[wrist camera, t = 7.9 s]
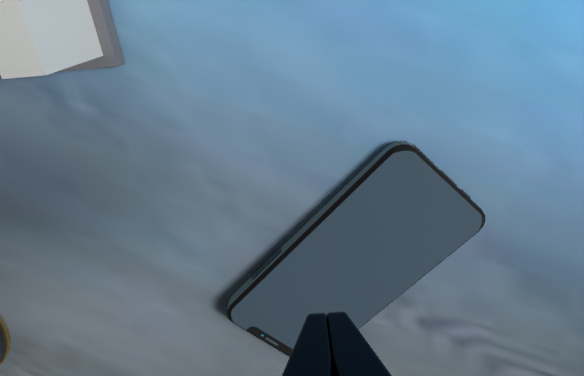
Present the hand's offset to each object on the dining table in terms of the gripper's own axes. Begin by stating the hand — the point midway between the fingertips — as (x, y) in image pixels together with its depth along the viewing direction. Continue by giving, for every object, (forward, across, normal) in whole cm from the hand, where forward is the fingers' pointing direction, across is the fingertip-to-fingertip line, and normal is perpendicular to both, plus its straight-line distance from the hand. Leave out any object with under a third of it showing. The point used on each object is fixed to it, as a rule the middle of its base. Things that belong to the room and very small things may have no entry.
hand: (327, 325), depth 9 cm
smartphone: (+13, -2, +8) cm, 15 cm away
